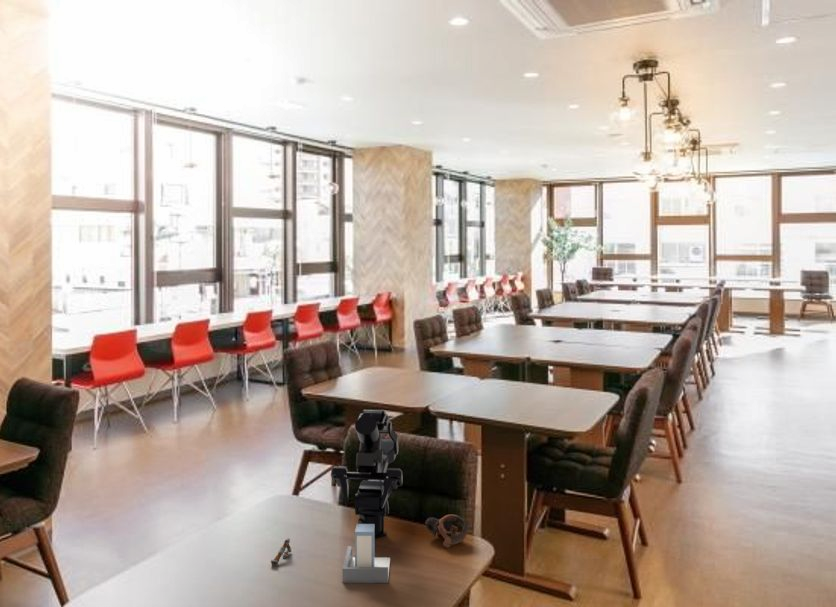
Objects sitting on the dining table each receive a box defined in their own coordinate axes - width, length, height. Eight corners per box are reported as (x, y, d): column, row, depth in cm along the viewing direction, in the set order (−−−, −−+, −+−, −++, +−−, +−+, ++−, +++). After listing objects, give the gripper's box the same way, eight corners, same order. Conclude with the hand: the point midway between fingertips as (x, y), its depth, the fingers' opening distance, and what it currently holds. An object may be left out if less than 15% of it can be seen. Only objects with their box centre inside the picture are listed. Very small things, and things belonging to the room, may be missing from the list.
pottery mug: (466, 534, 190) (472, 516, 185) (459, 562, 182) (466, 543, 177) (425, 521, 191) (430, 502, 186) (417, 548, 183) (422, 529, 179)
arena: (347, 559, 173) (347, 546, 173) (390, 559, 173) (390, 546, 173) (342, 582, 161) (342, 568, 161) (387, 583, 161) (387, 569, 161)
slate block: (356, 565, 168) (356, 523, 167) (374, 565, 168) (374, 524, 167) (355, 575, 164) (354, 531, 163) (373, 575, 164) (373, 532, 163)
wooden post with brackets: (295, 549, 177) (291, 536, 175) (280, 573, 170) (276, 561, 168) (289, 547, 178) (285, 535, 175) (274, 572, 171) (270, 560, 169)
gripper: (332, 437, 176) (324, 494, 167) (402, 439, 175) (398, 496, 166) (337, 455, 185) (330, 510, 176) (404, 457, 184) (400, 513, 175)
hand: (364, 507), depth 173 cm, fingers open, 9 cm apart
